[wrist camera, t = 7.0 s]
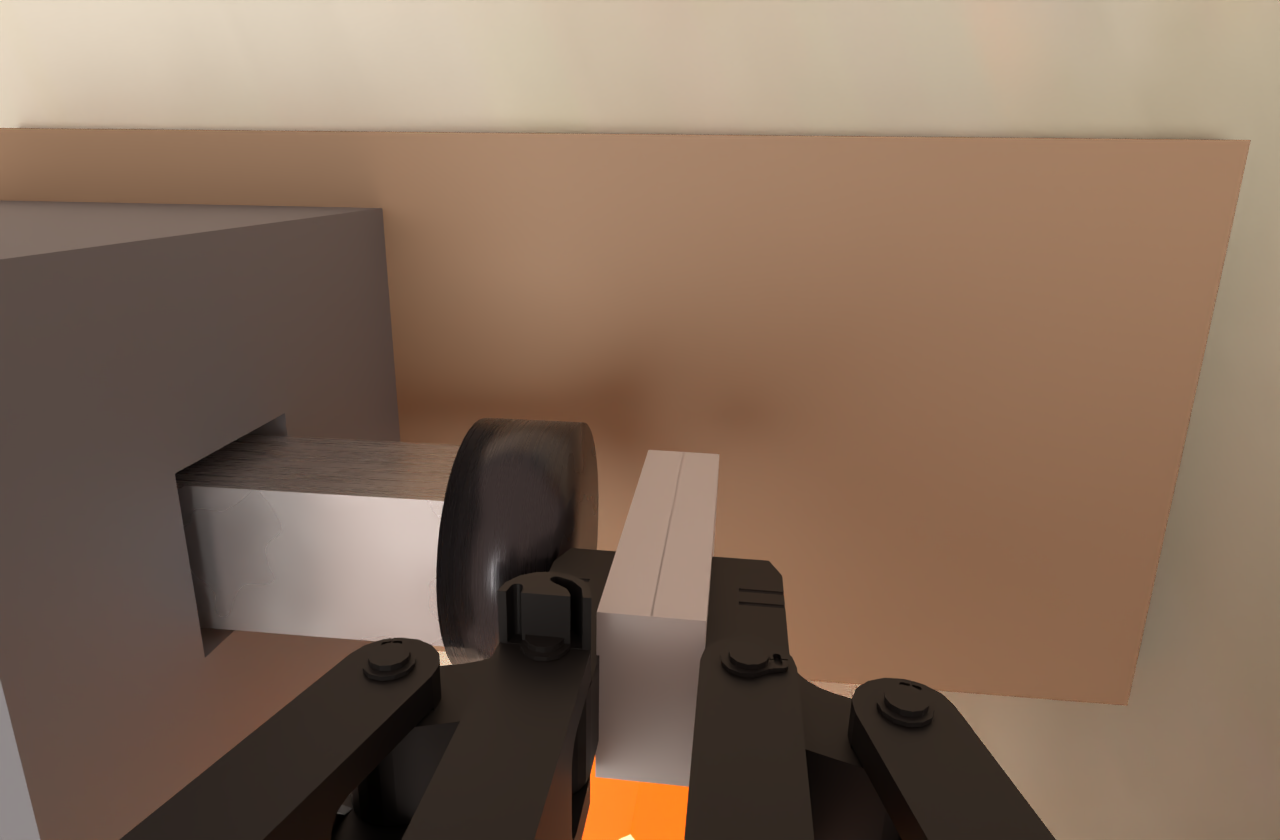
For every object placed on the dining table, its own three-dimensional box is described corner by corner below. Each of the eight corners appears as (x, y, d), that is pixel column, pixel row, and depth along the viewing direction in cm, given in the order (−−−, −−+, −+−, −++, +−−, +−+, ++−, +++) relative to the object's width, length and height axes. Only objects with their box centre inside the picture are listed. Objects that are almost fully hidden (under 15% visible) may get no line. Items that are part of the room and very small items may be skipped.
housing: (1217, 141, 22) (2219, 103, 7) (1106, 676, 26) (1561, 1324, 12) (16, 129, 25) (-990, 88, 11) (110, 600, 30) (-495, 1021, 15)
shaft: (598, 393, 18) (547, 475, 14) (598, 597, 20) (553, 736, 15) (-138, 360, 20) (-409, 422, 15) (-88, 549, 22) (-319, 657, 17)
